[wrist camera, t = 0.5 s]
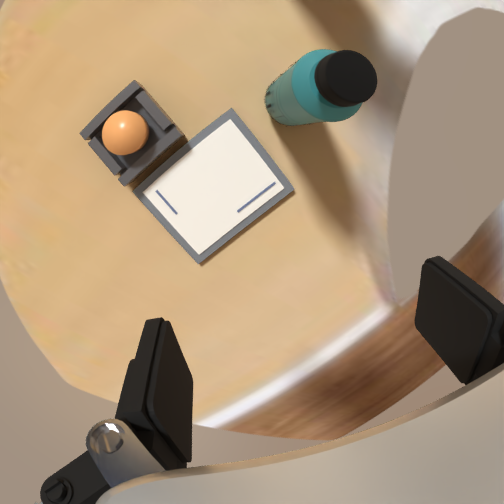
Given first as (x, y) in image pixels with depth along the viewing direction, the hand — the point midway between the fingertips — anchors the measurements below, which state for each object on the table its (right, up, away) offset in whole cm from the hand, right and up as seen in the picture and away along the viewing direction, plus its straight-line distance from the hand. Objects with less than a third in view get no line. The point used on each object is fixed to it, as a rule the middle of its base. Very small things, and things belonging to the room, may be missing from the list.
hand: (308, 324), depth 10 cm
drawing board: (-7, +11, +28) cm, 30 cm away
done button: (-16, +16, +21) cm, 31 cm away
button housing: (-16, +17, +24) cm, 34 cm away
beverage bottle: (+2, +21, +25) cm, 33 cm away
